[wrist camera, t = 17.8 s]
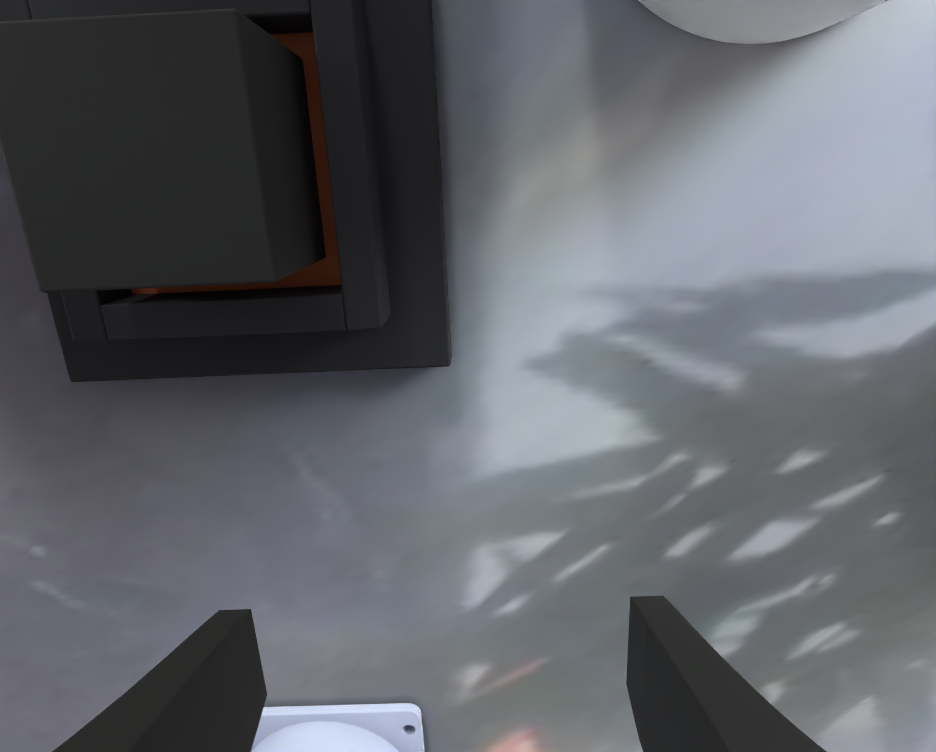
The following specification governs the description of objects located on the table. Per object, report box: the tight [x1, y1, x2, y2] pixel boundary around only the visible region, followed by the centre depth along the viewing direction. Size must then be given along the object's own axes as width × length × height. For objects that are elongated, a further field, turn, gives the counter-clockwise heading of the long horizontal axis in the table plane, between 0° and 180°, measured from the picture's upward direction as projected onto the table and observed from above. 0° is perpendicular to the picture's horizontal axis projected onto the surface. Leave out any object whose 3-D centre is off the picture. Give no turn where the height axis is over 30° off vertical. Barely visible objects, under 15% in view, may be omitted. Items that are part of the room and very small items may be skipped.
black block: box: [0, 8, 326, 293], centre depth 14 cm, size 5×5×5 cm
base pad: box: [0, 0, 451, 382], centre depth 16 cm, size 12×12×3 cm
